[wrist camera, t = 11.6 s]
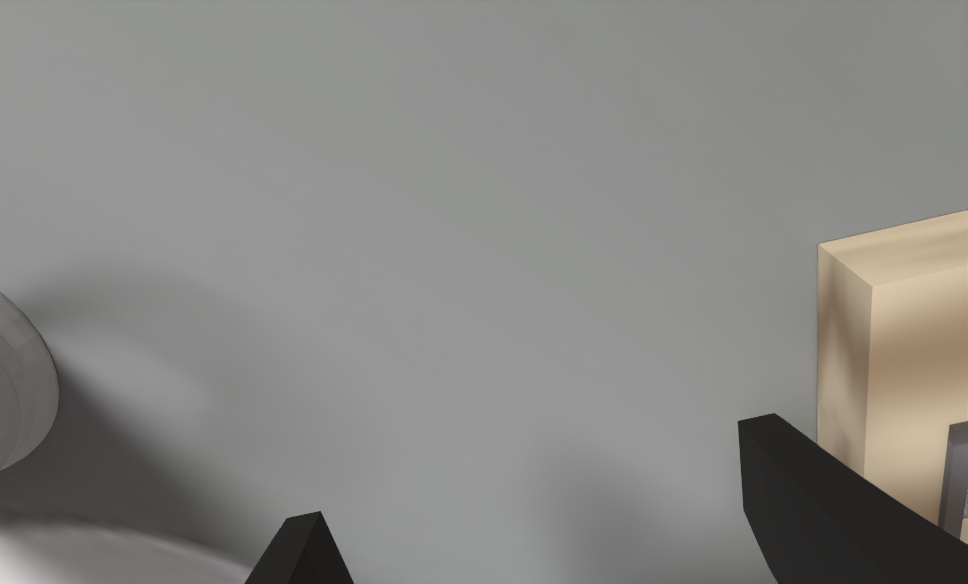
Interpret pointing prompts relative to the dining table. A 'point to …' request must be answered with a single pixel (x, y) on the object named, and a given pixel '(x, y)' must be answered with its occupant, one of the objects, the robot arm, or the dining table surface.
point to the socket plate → (898, 362)
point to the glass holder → (24, 386)
